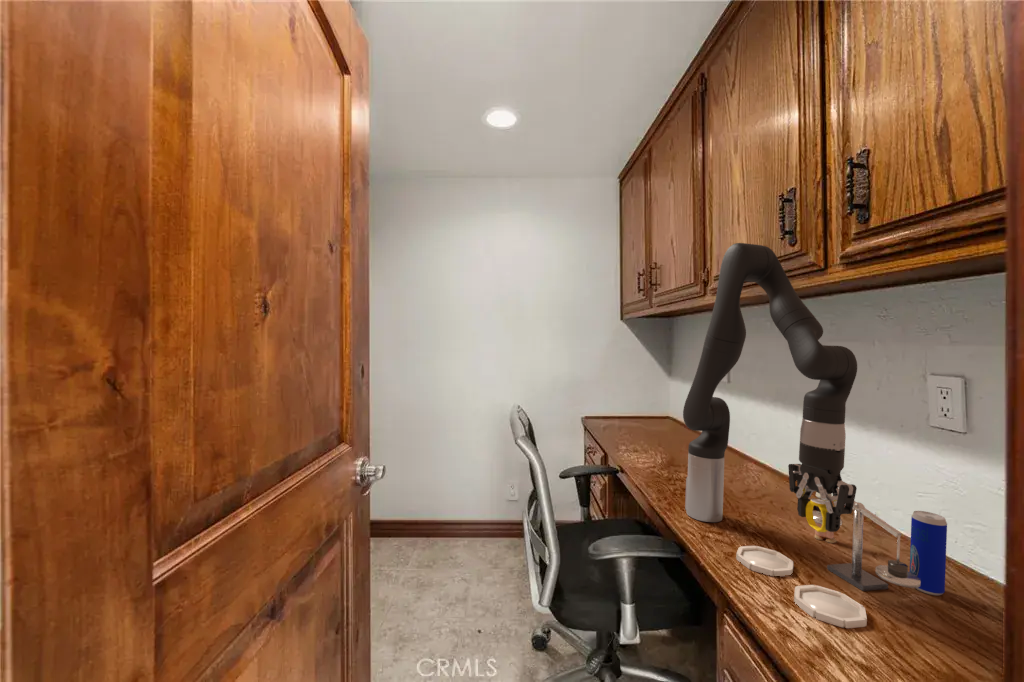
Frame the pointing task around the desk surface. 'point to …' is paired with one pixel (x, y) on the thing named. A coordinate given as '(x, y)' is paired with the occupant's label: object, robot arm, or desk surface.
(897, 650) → the desk surface
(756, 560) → the dish upper pan side
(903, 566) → the balance
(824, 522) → the watch
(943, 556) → the beverage can
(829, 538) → the grandmother figurine
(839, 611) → the dish lower pan side
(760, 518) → the desk surface
